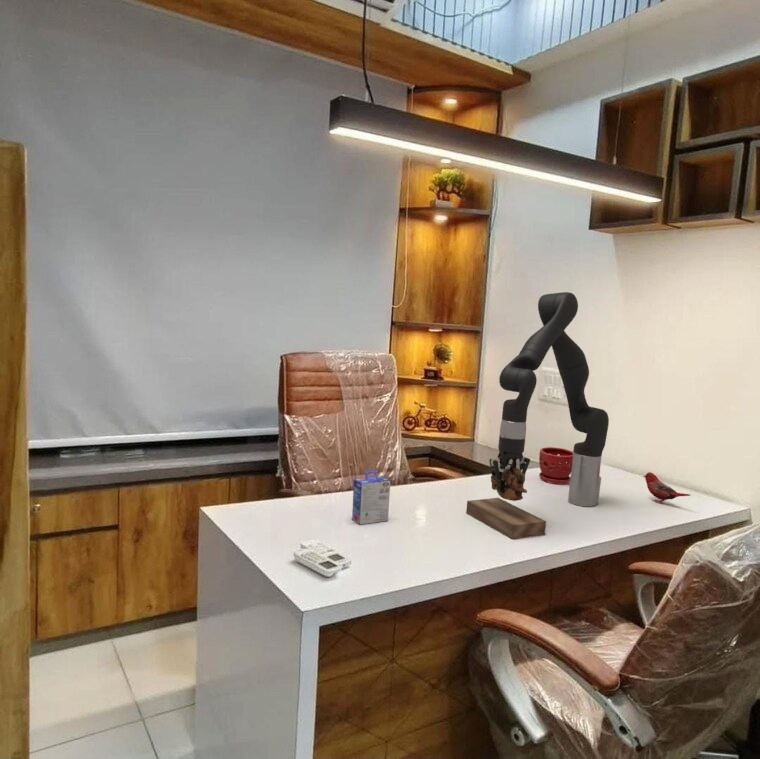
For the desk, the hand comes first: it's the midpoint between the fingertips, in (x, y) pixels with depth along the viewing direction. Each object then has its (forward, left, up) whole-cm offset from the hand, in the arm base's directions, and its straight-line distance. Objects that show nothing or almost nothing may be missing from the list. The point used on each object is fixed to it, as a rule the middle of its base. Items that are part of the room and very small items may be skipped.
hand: (506, 491), depth 178 cm
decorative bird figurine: (-70, +1, -10) cm, 71 cm away
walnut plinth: (0, 0, -10) cm, 10 cm away
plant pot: (-51, -33, -10) cm, 61 cm away
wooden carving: (0, 0, -3) cm, 3 cm away
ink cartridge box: (+38, -14, -10) cm, 42 cm away
